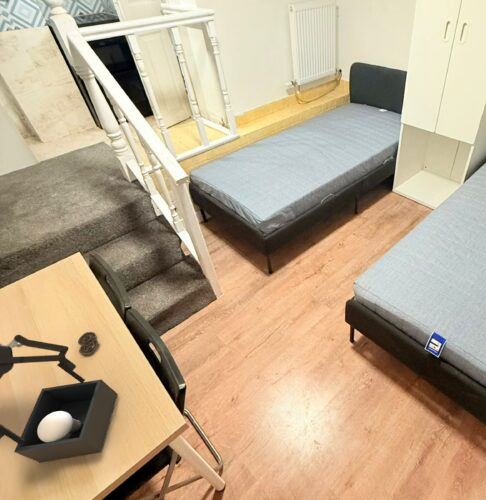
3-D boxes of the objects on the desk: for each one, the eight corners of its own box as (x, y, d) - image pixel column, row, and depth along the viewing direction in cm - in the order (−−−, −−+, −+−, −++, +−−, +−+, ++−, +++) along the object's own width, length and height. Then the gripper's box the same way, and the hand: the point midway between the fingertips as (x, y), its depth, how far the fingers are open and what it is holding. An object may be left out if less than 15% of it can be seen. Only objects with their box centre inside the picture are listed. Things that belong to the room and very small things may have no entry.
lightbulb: (85, 405, 82) (55, 404, 72) (95, 427, 80) (66, 429, 70) (59, 423, 80) (25, 424, 70) (69, 446, 78) (36, 450, 68)
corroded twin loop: (96, 330, 100) (94, 328, 99) (101, 349, 95) (99, 348, 94) (77, 339, 98) (75, 337, 97) (82, 359, 93) (80, 357, 92)
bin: (39, 462, 75) (13, 451, 69) (62, 402, 85) (42, 388, 79) (101, 452, 76) (81, 440, 70) (117, 393, 86) (101, 379, 80)
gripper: (-129, 406, 54) (-10, 476, 60) (24, 296, 70) (107, 359, 76) (-114, 404, 60) (-6, 468, 65) (25, 302, 76) (102, 361, 81)
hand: (54, 410), depth 71 cm, fingers open, 13 cm apart
